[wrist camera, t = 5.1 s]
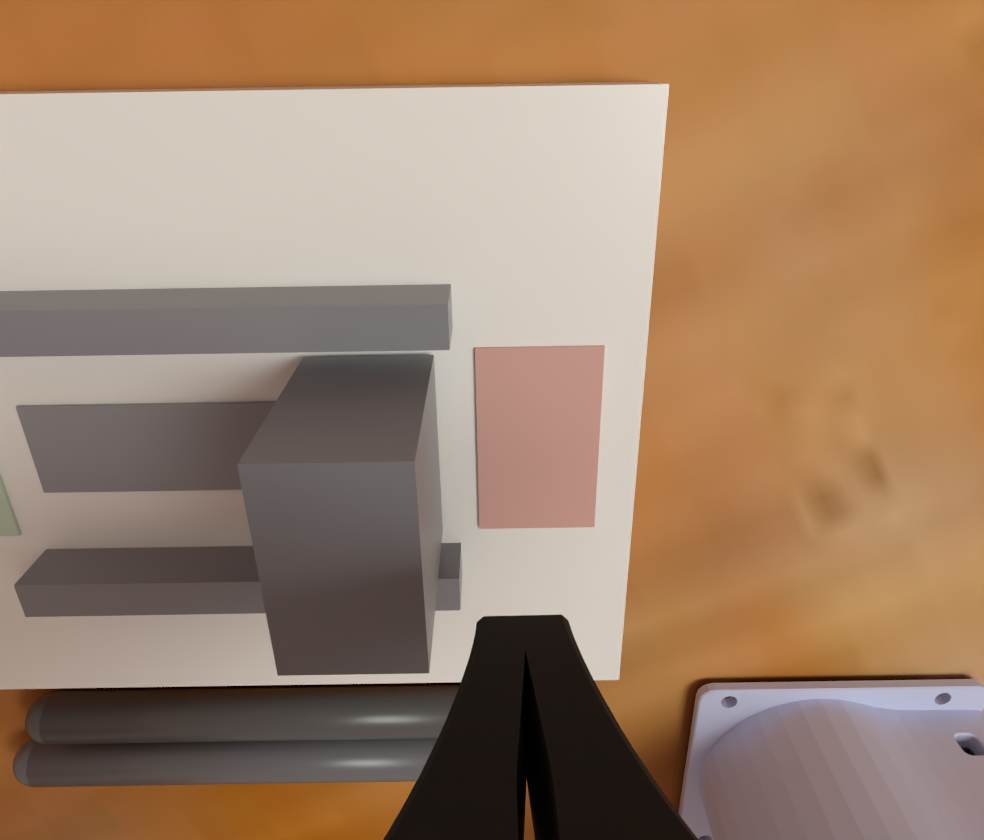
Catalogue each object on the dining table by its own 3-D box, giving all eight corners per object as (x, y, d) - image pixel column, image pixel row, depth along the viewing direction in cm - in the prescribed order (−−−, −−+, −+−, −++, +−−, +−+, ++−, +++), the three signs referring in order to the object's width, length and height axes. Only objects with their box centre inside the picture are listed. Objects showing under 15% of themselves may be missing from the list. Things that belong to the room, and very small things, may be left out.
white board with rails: (649, 81, 16) (687, 86, 13) (600, 748, 26) (616, 844, 23) (-246, 94, 16) (-420, 103, 13) (31, 757, 26) (-32, 853, 23)
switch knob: (433, 354, 17) (415, 461, 12) (442, 528, 19) (429, 673, 14) (303, 356, 17) (236, 464, 12) (326, 530, 19) (277, 675, 14)
